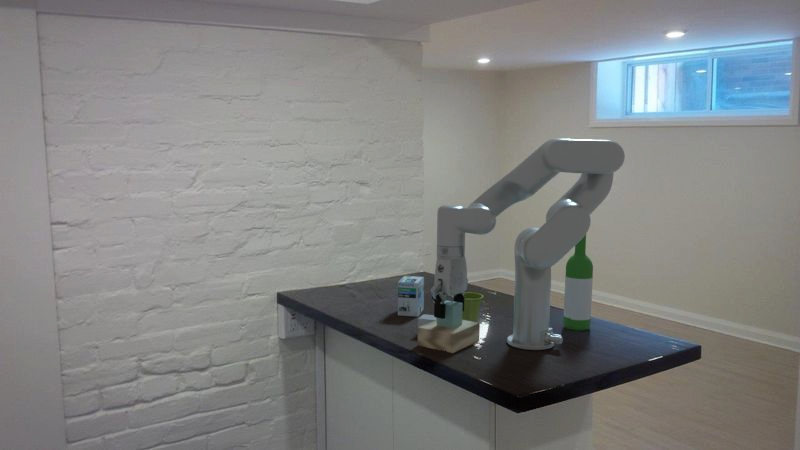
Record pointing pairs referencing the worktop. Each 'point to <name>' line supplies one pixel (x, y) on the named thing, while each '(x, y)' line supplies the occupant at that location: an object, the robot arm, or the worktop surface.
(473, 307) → the plant pot
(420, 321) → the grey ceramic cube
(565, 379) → the worktop surface
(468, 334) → the oak pedestal
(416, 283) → the light bulb box
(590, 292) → the wine bottle
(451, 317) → the teal block
